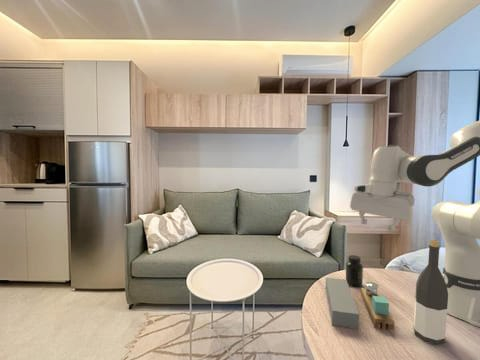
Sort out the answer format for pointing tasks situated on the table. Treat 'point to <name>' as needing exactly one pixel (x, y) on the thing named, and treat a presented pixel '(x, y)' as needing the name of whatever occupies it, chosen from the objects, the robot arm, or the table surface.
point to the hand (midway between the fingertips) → (377, 227)
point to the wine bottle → (431, 301)
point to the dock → (341, 303)
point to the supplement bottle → (354, 271)
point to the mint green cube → (380, 305)
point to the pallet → (376, 318)
